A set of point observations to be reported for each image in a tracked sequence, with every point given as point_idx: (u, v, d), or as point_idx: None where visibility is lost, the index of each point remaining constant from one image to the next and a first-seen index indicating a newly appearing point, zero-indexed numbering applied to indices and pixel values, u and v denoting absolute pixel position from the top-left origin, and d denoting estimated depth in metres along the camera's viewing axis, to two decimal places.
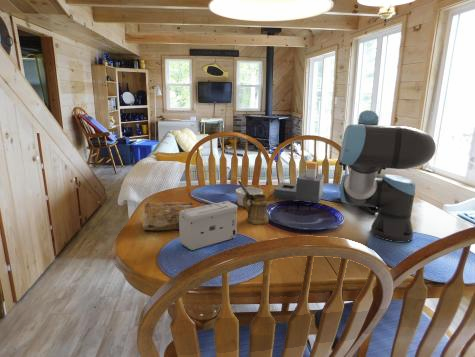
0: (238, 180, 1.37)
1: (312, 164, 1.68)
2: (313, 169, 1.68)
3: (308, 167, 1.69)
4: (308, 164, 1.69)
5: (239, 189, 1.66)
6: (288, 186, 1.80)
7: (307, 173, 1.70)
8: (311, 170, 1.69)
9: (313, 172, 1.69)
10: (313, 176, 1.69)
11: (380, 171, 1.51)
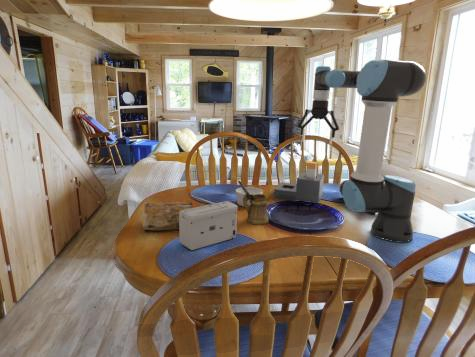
0: (238, 180, 1.37)
1: (312, 164, 1.68)
2: (313, 169, 1.68)
3: (308, 167, 1.69)
4: (308, 164, 1.69)
5: (239, 189, 1.66)
6: (288, 186, 1.80)
7: (307, 173, 1.70)
8: (311, 170, 1.69)
9: (313, 172, 1.69)
10: (313, 176, 1.69)
11: (334, 133, 1.62)
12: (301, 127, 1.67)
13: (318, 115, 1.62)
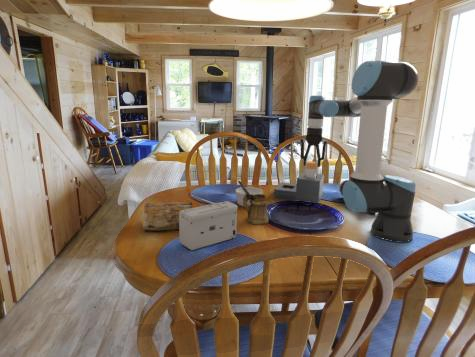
0: (238, 180, 1.37)
1: (312, 164, 1.68)
2: (313, 169, 1.68)
3: (308, 167, 1.69)
4: (308, 164, 1.69)
5: (239, 189, 1.66)
6: (288, 186, 1.80)
7: (307, 173, 1.70)
8: (311, 170, 1.69)
9: (313, 172, 1.69)
10: (313, 176, 1.69)
11: (319, 163, 1.68)
12: (304, 158, 1.70)
13: (312, 142, 1.66)
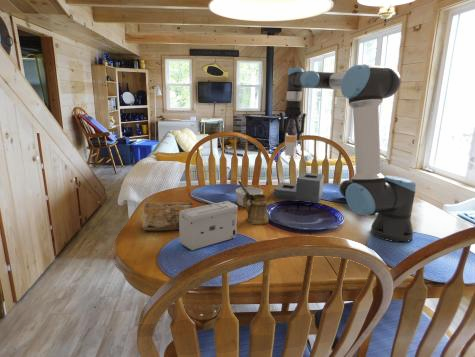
0: (238, 180, 1.37)
1: (291, 137, 1.69)
2: (292, 142, 1.69)
3: (287, 140, 1.70)
4: (287, 137, 1.69)
5: (239, 189, 1.66)
6: (288, 186, 1.80)
7: (287, 146, 1.71)
8: (290, 143, 1.70)
9: (292, 145, 1.69)
10: (292, 149, 1.70)
11: (299, 136, 1.69)
12: (283, 132, 1.71)
13: (292, 115, 1.67)
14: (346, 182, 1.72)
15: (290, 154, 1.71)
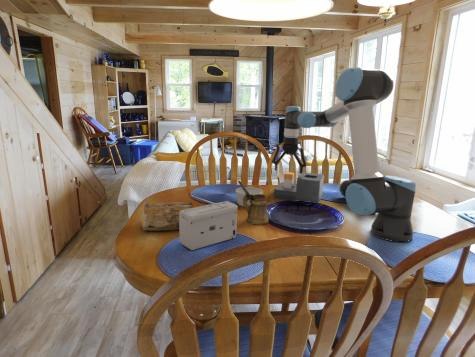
0: (238, 180, 1.37)
1: (289, 175, 1.74)
2: (290, 180, 1.74)
3: (285, 178, 1.75)
4: (285, 175, 1.74)
5: (239, 189, 1.66)
6: None
7: (284, 184, 1.75)
8: (288, 181, 1.74)
9: (290, 183, 1.74)
10: (290, 187, 1.75)
11: (302, 169, 1.72)
12: (275, 163, 1.76)
13: (289, 151, 1.72)
14: (346, 182, 1.72)
15: None
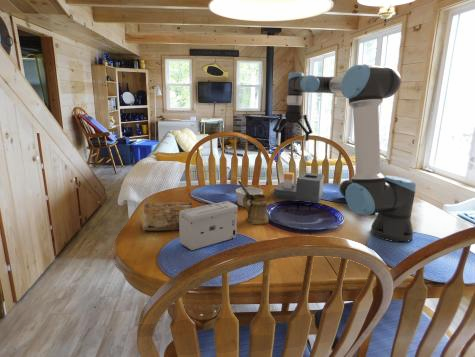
0: (238, 180, 1.37)
1: (289, 175, 1.74)
2: (290, 180, 1.74)
3: (285, 178, 1.75)
4: (285, 175, 1.74)
5: (239, 189, 1.66)
6: None
7: (284, 184, 1.75)
8: (288, 181, 1.74)
9: (290, 183, 1.74)
10: (290, 187, 1.75)
11: (307, 137, 1.68)
12: (276, 131, 1.72)
13: (292, 119, 1.68)
14: (346, 182, 1.72)
15: None
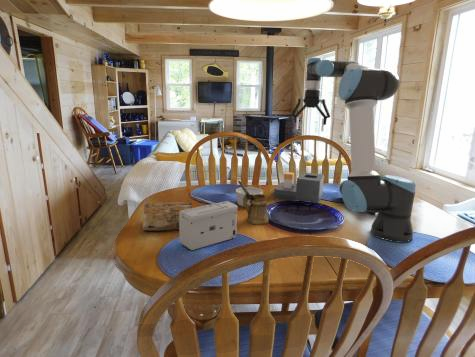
0: (238, 180, 1.37)
1: (289, 175, 1.74)
2: (290, 180, 1.74)
3: (285, 178, 1.75)
4: (285, 175, 1.74)
5: (239, 189, 1.66)
6: None
7: (284, 184, 1.75)
8: (288, 181, 1.74)
9: (290, 183, 1.74)
10: (290, 187, 1.75)
11: (325, 121, 1.73)
12: (295, 115, 1.78)
13: (310, 104, 1.73)
14: None
15: None
